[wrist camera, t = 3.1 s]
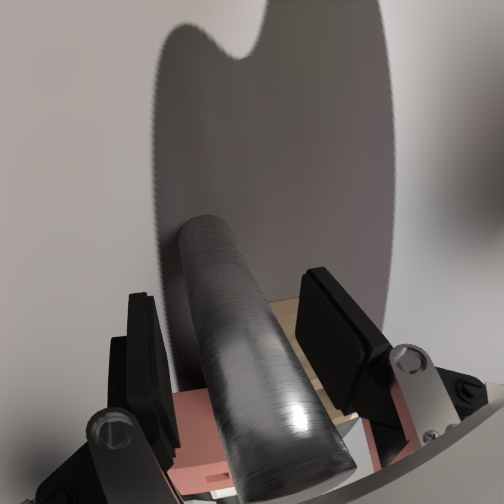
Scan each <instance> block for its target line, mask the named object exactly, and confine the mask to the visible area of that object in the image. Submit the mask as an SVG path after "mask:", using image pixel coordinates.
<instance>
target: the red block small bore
mask: <svg viewBox="0 0 504 504" xmlns="http://www.w3.org/2000/svg"><path fill="white" fill-rule="evenodd" d="M172 396H173V403H174V409H175V415H176V421H177V427H178V433H179V439H180V444H181V448H176V449H175V453H176V458H173V461H174V465H173V466H172V467H171V468H170V469H169V470H168V471H167V472H168V474H169V476H170V478H171V480H172V481H173V483H174V484H175V486H176V487H177V489H178V490H179V492H180V493H181V495H187V494H194V493H202V492H208V491H214V490H220V489H225V488H231V487H235V486H234V483H233V480H232V477H231V473H230V470H229V467H228V463H227V460H226V457H225V453H224V450H223V446H222V443H221V439H220V436H219V432H218V428H217V424H216V421H215V417H214V413H213V409H212V405H211V401H210V397H209V393H208V389H207V388H204V389H198V390H191V391H184V392H177V393H172Z"/></svg>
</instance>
